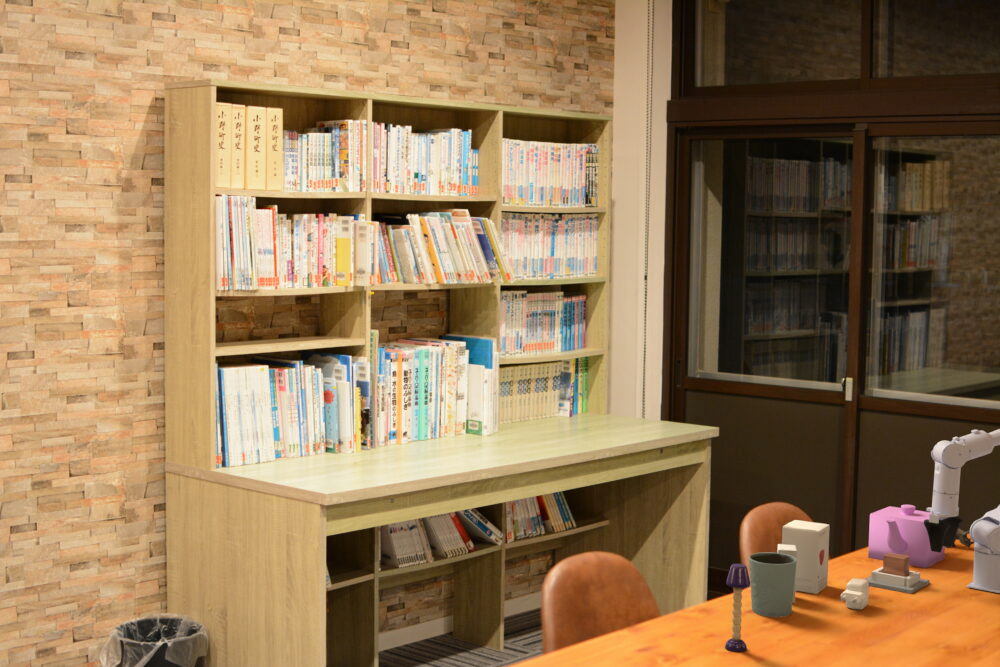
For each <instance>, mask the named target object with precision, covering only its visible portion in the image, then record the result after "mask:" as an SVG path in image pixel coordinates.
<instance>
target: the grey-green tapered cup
mask: <svg viewBox="0 0 1000 667" xmlns="http://www.w3.org/2000/svg"><path fill="white" fill-rule="evenodd" d="M748 561H749V562H748V563H749V564H748V565H749V571H750V573H749V574H750V576H749V579H750V592H751V593H750V599H751V602H750V603H751V611H752V612H753V613H754V614H757V615H758V616H762V617H768V618H784V617H788V616H791V614H792V611H793V603H792V600H793V591H794V580H795V578H794V577H795V571H796V563H797V559H796V558H795V557H793V556H790V555H787V554H782V553H777V552H771V551H765V552H755V553H752V554H750V555H749V556H748Z"/></svg>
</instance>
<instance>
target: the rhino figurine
mask: <svg viewBox="0 0 1000 667" xmlns="http://www.w3.org/2000/svg"><path fill="white" fill-rule="evenodd" d="M968 534H970V530H967V531H964V530H962V529H960V527H959V528H958V531H957V533H956V536H955V539H954V543H953V545H952V547H946V546H945V549H950V548H957V545H956V544H955V542H956V541H959V543H960V544H962V545H964V546H965V547H967V548H971V546H972V545H974V541H973V540H972V539H971V537H970V538H968Z"/></svg>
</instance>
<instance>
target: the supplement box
mask: <svg viewBox="0 0 1000 667" xmlns="http://www.w3.org/2000/svg"><path fill="white" fill-rule="evenodd" d="M830 529H831V528H830V524H827V523H822V522H814V521H808V520H807V521H806V520H801V519H799V520H798V519H794V520H792V521H790V522H787V523H786V524H785V525H783V526H782V532H781V533H782V535H781V537H782V538H781V544H786V545H796V549H797V563H796V586H795V592H801V593H807V594H813V595H817V594H819V593H820V592H822V591H823V590H825V588H826V587H827V586H828V572H829V552H830V550H829V547H830Z"/></svg>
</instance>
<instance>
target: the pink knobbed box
mask: <svg viewBox="0 0 1000 667" xmlns="http://www.w3.org/2000/svg"><path fill="white" fill-rule="evenodd" d="M916 508H917V507H916V506H915V505H912V504H902V505H901V506H900V507H897V506H887V507H885V508H882V509H879V510H876V511H874V512H871V513H870V514H869V526H868V528H869V529H868V530H869V531H868V553H867V554H868V556H867V558H868V559H872V560H878V561H883V557H884V555H885V554H888V553H894V554H899V555H905V556H910V561H909V566H911V567H917V568H923V569H927V568H930V567H932V566H934V565H935V564H938V563H939V562H941V561H943V560H945V557H946V556H945V554H946V553H945V552H946V551H945V550H946V547H945V546H943V547H942V550H941V552H940V553H939V552H934V551H931V547H930V541H929V536H928V532H927V529H926V527H925V525H924V520H926V519H927V520H929V515H930V514H931V512H929V511H923V510H917V509H916Z"/></svg>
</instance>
